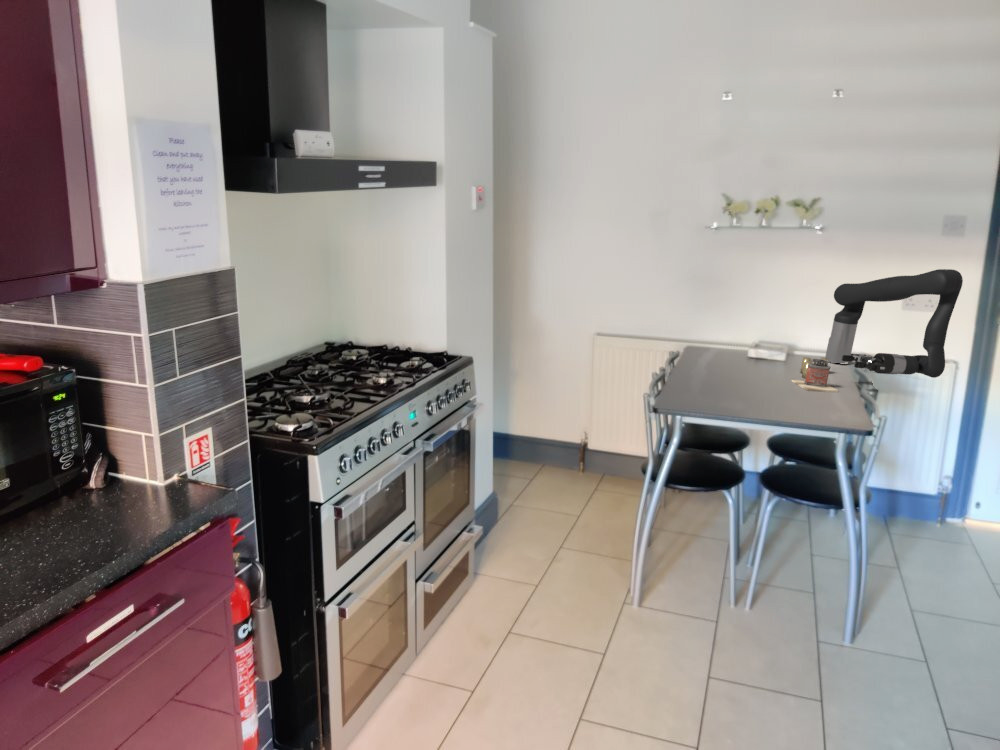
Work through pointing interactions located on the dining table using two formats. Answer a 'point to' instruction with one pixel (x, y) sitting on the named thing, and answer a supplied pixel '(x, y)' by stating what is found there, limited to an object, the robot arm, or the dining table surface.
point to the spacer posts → (805, 365)
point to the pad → (814, 387)
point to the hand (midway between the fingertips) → (848, 361)
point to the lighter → (817, 373)
